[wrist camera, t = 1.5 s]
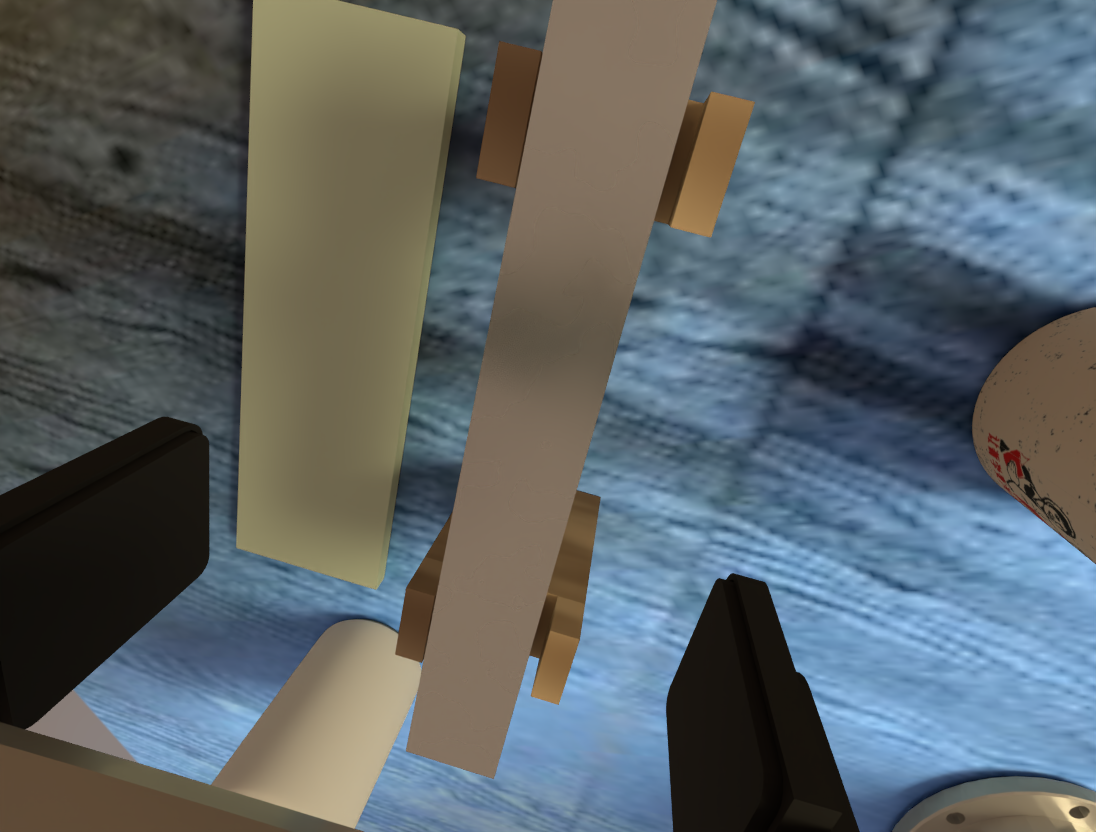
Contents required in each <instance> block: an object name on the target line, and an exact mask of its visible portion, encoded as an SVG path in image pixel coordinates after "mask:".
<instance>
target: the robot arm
mask: <svg viewBox="0 0 1096 832" xmlns="http://www.w3.org/2000/svg"><path fill="white" fill-rule="evenodd" d="M208 560H209V440H208V439H207V437H206V436H204V435H203V433H202V430H201V428H200V427H199V426H197V425H195V424H192V423H188V422H184V421H181V420H177V419H173V418H170V417H161V418H158V419H156V420H154V421H152V422H149V423H147V424H145V425H143V426H141V427H139V428H137V429H135V430H133V431H131V432H129V433H127V434H125V435H123V436H121V437H119V438H117V439H115V440H113V441H111V442H108V443H106V444H104V445H102V446H100V447H98V448H96V449H94V450H92V451H90V452H88V453H86V454H84V455H82V456H80V457H78V458H76V459H74V460H72V461H70V462H67V463H65V464H63V465H61V466H59V467H57V468H55V469H53V470H51V471H49V472H47V473H45V474H43V475H41V476H39V477H37V478H35V479H33V480H31V481H29V482H27V483H24V484H22V485H20V486H18V487H16V488H14V489H12V490H10V491H8V492H6V493H4V494H2V495H0V832H363V831H360V830H357V829H354V828H350V827H347V826H344V825H341V824H337V823H334V822H331V821H327V820H324V819H321V818H318V817H314V816H311V815H308V814H304V813H301V812H298V811H295V810H291V809H288V808H285V807H281V806H278V805H275V804H272V803H268V802H265V801H262V800H258V799H255V798H252V797H249V796H245V795H242V794H239V793H235V792H232V791H229V790H225V789H222V788H219V787H216V786H212V785H209V784H206V783H202V782H199V781H196V780H192V779H189V778H186V777H182V776H179V775H176V774H173V773H169V772H166V771H163V770H159V769H156V768H153V767H149V766H146V765H143V764H139V763H136V762H132V761H129V760H126V759H122V758H119V757H116V756H112V755H109V754H105V753H102V752H99V751H95V750H92V749H89V748H85V747H82V746H79V745H75V744H72V743H69V742H65V741H62V740H59V739H55V738H52V737H48V736H45V735H41V734H38V733H34V732H31V731H28V730H25V729H26V728H29V727H30V726H32V725H33V724H34V723H36V722H37V721H38V720H39V719H40V718H42V717H43V716H44V715H45V714H46V713H47V712H48V711H50V710H51V709H52V708H53V707H54V706H55V705H56V704H57V703H58V702H60V701H61V700H62V699H63V698H64V697H65V696H66V695H67V694H68V693H70V692H71V691H72V690H73V689H74V688H75V687H76V686H77V685H79V684H80V683H81V682H82V681H83V680H84V679H85V678H86V677H87V676H89V675H90V674H91V673H92V672H93V671H94V670H95V669H96V668H98V667H99V666H100V665H101V664H102V663H103V662H104V661H105V660H106V659H108V658H109V657H110V656H111V655H112V654H113V653H114V652H115V651H116V650H118V649H119V648H120V647H121V646H122V645H123V644H124V643H125V642H126V641H128V640H129V639H130V638H131V637H132V636H133V635H134V634H135V633H137V632H138V631H139V630H140V629H141V628H142V627H143V626H144V625H145V624H147V623H148V622H149V621H150V620H151V619H152V618H153V617H154V616H155V615H157V614H158V613H159V612H160V611H161V610H162V609H163V608H164V607H166V606H167V605H168V604H169V603H170V602H171V601H172V600H173V599H174V598H176V597H177V596H178V595H179V594H180V593H181V592H182V591H183V590H184V589H186V588H187V587H188V586H189V585H190V584H191V583H192V582H193V581H195V580H196V579H197V578H198V577H199V576H200V575H201V574H202V572H203V571H204V569H205V568H206V566H207V563H208ZM666 717H667V734H668V750H669V767H670V784H671V801H672V818H673V832H860V831H859V829H858V826H857V823H856V820H855V817H854V814H853V811H852V808H851V806H850V803H849V800H848V797H847V794H846V791H845V788H844V785H843V783H842V780H841V777H840V774H839V771H838V768H837V765H836V762H835V760H834V757H833V754H832V751H831V748H830V745H829V742H828V739H827V737H826V734H825V731H824V728H823V725H822V722H821V719H820V716H819V714H818V711H817V708H816V705H815V702H814V699H813V696H812V693H811V691H810V688H809V685H808V683H807V681H806V679H805V677H804V676H803V675H801V674H800V673H798V672H796V670H795V667H794V664H793V661H792V658H791V655H790V652H789V649H788V646H787V643H786V640H785V637H784V634H783V631H782V628H781V625H780V622H779V619H778V616H777V613H776V610H775V607H774V604H773V601H772V598H771V595H770V592H769V589H768V586H767V584H766V583H765V582H763V581H759V580H756V579H752V578H748V577H745V576H741V575H738V574H734V573H732V574H730V575H729V576H728V578H727V579H726V580H724V579H720V578H719V579H717V580H716V582H715V583H714V585H713V588H712V590H711V592H710V595H709V597H708V599H707V602H706V604H705V606H704V609H703V611H702V614H701V616H700V618H699V621H698V623H697V625H696V628H695V630H694V632H693V635H692V637H691V639H690V642H689V644H688V646H687V649H686V651H685V653H684V656H683V658H682V660H681V663H680V665H679V667H678V670H677V672H676V674H675V677H674V679H673V681H672V684H671V686H670V689H669V692H668V696H667V703H666ZM892 832H1096V792H1095V791H1092V790H1089V789H1086V788H1083V787H1080V786H1077V785H1075V784H1072V783H1068V782H1063V781H1057V780H1052V779H1047V778H1040V777H1023V776H1010V777H994V778H986V779H981V780H976V781H971V782H966V783H963V784H959V785H956V786H953V787H950V788H947V789H944V790H942V791H940V792H938V793H936V794H934V795H932V796H930V797H928V798H926V799H924V800H923V801H921V802H920V803H919V804H917V805H916V806H915V807H913V808H912V809H911V810H909V811H908V812H907V813H906V814H905V815H904V816H903V818H902V819H901V820H900V821H899V822H898V823H897V824H896V825H895V827H894V829H893V831H892Z"/></svg>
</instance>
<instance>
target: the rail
mask: <svg viewBox="0 0 1096 832" xmlns="http://www.w3.org/2000/svg"><path fill="white" fill-rule="evenodd" d="M716 2H717V0H553V4H552V9H551V14H550V19H549V24H548V29H547V35H546V40H545V45H544V50H543V55H542V60H541V65H540V70H539V75H538V80H537V85H536V91H535V96H534V101H533V106H532V111H531V116H530V121H529V126H528V131H527V136H526V142H525V147H524V152H523V157H522V162H521V167H520V172H519V177H518V182H517V187H516V193H515V198H514V203H513V208H512V213H511V218H510V223H509V228H508V233H507V238H506V243H505V249H504V254H503V259H502V264H501V269H500V274H499V279H498V284H497V289H496V294H495V300H494V305H493V310H492V315H491V320H490V325H489V330H488V335H487V340H486V345H485V350H484V356H483V361H482V366H481V371H480V376H479V381H478V386H477V391H476V396H475V401H474V407H473V412H472V417H471V422H470V427H469V432H468V437H467V442H466V447H465V452H464V458H463V463H462V468H461V473H460V478H459V483H458V488H457V493H456V498H455V503H454V508H453V514H452V519H451V524H450V529H449V534H448V539H447V544H446V549H445V554H444V559H443V565H442V570H441V575H440V580H439V585H438V590H437V595H436V600H435V605H434V610H433V615H432V621H431V626H430V631H429V636H428V641H427V646H426V651H425V656H424V661H423V666H422V672H421V677H420V682H419V687H418V692H417V697H416V702H415V707H414V712H413V717H412V723H411V728H410V733H409V738H408V743H407V748H406V751H407V752H410V753H413V754H416V755H420V756H423V757H426V758H429V759H432V760H435V761H439V762H442V763H445V764H448V765H451V766H454V767H457V768H461V769H464V770H467V771H470V772H473V773H476V774H480V775H483V776H486V777H489V778H492V779H494V776H495V773H496V770H497V766H498V763H499V759H500V756H501V752H502V749H503V745H504V742H505V738H506V735H507V731H508V728H509V724H510V721H511V717H512V714H513V710H514V707H515V703H516V700H517V696H518V693H519V689H520V686H521V682H522V679H523V675H524V672H525V668H526V665H527V661H528V658H529V654H530V651H531V647H532V644H533V640H534V637H535V633H536V630H537V626H538V623H539V619H540V616H541V613H542V609H543V606H544V602H545V599H546V595H547V592H548V588H549V585H550V581H551V578H552V574H553V571H554V567H555V564H556V560H557V557H558V553H559V550H560V546H561V543H562V539H563V536H564V532H565V529H566V525H567V522H568V518H569V515H570V511H571V508H572V504H573V501H574V497H575V494H576V490H577V487H578V483H579V480H580V476H581V473H582V469H583V466H584V462H585V459H586V455H587V452H588V449H589V445H590V442H591V438H592V435H593V431H594V428H595V424H596V421H597V417H598V414H599V410H600V407H601V403H602V400H603V396H604V393H605V389H606V386H607V382H608V379H609V375H610V372H611V368H612V365H613V361H614V358H615V354H616V351H617V347H618V344H619V340H620V337H621V333H622V330H623V326H624V323H625V319H626V316H627V312H628V309H629V305H630V302H631V298H632V295H633V291H634V288H635V285H636V281H637V278H638V274H639V271H640V267H641V264H642V260H643V257H644V253H645V250H646V246H647V243H648V239H649V236H650V232H651V229H652V225H653V222H654V218H655V215H656V211H657V208H658V204H659V201H660V197H661V194H662V190H663V187H664V183H665V180H666V176H667V173H668V169H669V166H670V162H671V159H672V155H673V152H674V148H675V145H676V141H677V138H678V134H679V131H680V127H681V124H682V121H683V117H684V114H685V110H686V107H687V103H688V100H689V96H690V93H691V89H692V86H693V82H694V79H695V75H696V72H697V68H698V65H699V61H700V58H701V54H702V51H703V47H704V44H705V40H706V37H707V33H708V30H709V26H710V23H711V19H712V16H713V12H714V9H715V5H716Z"/></svg>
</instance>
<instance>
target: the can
mask: <svg viewBox="0 0 1096 832" xmlns="http://www.w3.org/2000/svg"><path fill="white" fill-rule="evenodd" d="M398 634H399V632H397V631H396V630H394V629H393V628H391V627H389V626H387V625H385V624H383V623H380V622H377V621H373V620H368V619H352V620H345V621H341V622H338V623H336V624H334V625H332V626H331V627H329V628H328V629H327V630H326V631H325V632H324V633H323V634H322V635H321V636H320V638H319V639H318V640H317V642H316V643H315V644H314V646H313V647H312V648H311V650H310V651H309V652H308V654H307V655H306V656H305V658H304V659H303V660H302V662H301V663H300V664H299V666H298V667H297V668H296V670H295V671H294V672H293V674H292V675H291V676H290V678H289V679H288V681H287V682H286V683H285V685H284V686H283V687H282V689H281V690H280V691H279V693H278V694H277V695H276V697H275V698H274V699H273V701H272V702H271V703H270V705H269V706H268V708H267V709H266V710H265V712H264V713H263V714H262V716H261V717H260V718H259V720H258V721H257V723H256V724H255V725H254V727H253V728H252V729H251V731H250V732H249V733H248V735H247V736H246V737H245V739H244V740H243V742H242V743H241V744H240V746H239V747H238V748H237V750H236V751H235V752H234V754H233V755H232V757H231V758H230V759H229V761H228V762H227V763H226V765H225V766H224V768H223V769H222V770H221V772H220V773H219V774H218V776H217V777H216V779H215V780H214V781H213V783H212V784H211V785H212V786H216V787H219V788H222V789H225V790H229V791H232V792H235V793H239V794H242V795H245V796H249V797H252V798H255V799H258V800H262V801H265V802H268V803H272V804H275V805H278V806H281V807H285V808H288V809H291V810H295V811H298V812H301V813H304V814H308V815H311V816H314V817H318V818H321V819H324V820H327V821H331V822H334V823H337V824H341V825H344V826H347V827H350V828H354V829H355V827H356V825H357V823H358V820H359V818H360V816H361V814H362V812H363V810H364V807H365V805H366V803H367V801H368V799H369V797H370V794H371V792H372V790H373V788H374V786H375V784H376V781H377V779H378V777H379V775H380V773H381V770H382V768H383V766H384V764H385V762H386V760H387V757H388V755H389V753H390V751H391V749H392V746H393V744H394V742H395V740H396V738H397V735H398V733H399V731H400V729H401V727H402V725H403V722H404V720H405V718H406V716H407V713H408V711H409V709H410V707H411V705H412V702H413V700H414V698H415V696H416V693H417V691H418V687H419V682H420V677H421V672H422V671H421V666H420V663H419V662H417V661H414V660H411V659H408V658H404V657H401V656H398V655H395V651H396V645H397V639H398Z"/></svg>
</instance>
